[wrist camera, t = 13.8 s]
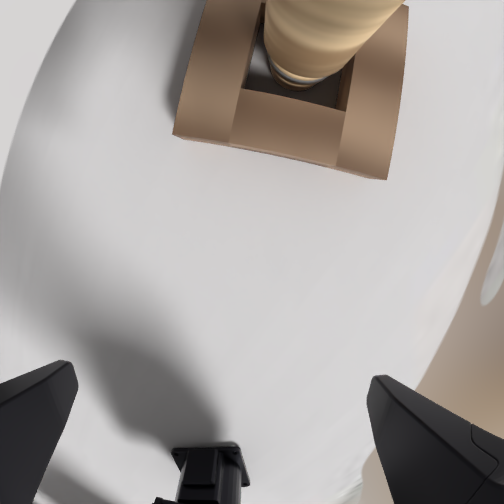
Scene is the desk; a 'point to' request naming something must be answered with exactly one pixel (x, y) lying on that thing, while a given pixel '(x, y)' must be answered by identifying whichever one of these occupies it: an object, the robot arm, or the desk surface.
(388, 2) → the tan tall cylinder
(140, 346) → the desk surface
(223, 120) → the walnut square frame
